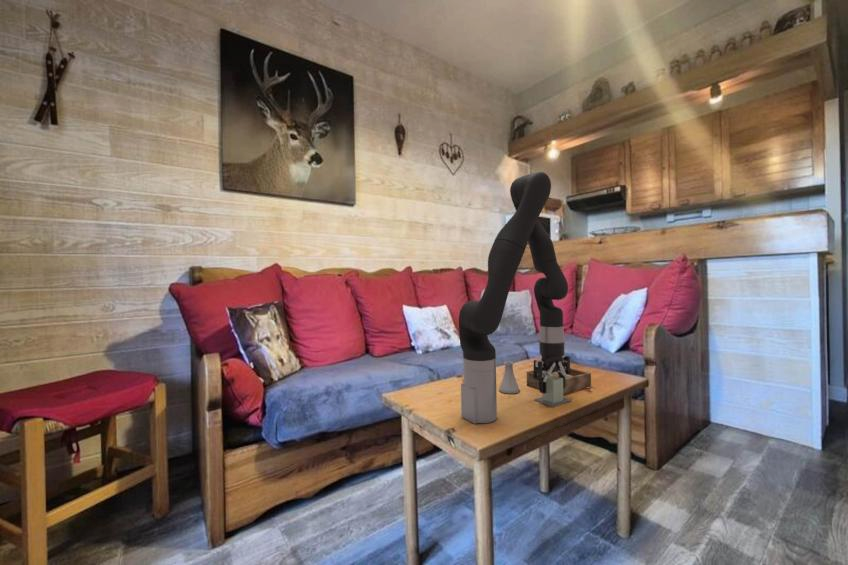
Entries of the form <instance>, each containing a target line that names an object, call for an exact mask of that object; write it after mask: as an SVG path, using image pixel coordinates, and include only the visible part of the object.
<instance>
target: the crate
mask: <svg viewBox="0 0 848 565" xmlns="http://www.w3.org/2000/svg"><path fill="white" fill-rule="evenodd" d="M565 370H567V368H566V367H565ZM544 371H545V370H544ZM545 372H546V371H545ZM533 373H534V369H533V370H530V371H529V370H528V371H526V386H528V387H530V388H533V389H536V390H539V381H538V380H536V379H534V378H533ZM550 375H553V376H556V377H558V376H559V375H558V374H557V372H553V373H551V374H550ZM537 376H538V372H537ZM543 377H544V375H543ZM565 384H566V385H565V389H563V396H564V395H567V394H572V393H575V392H574V391H576V392H578V391H577V390H579V391H582V390H581V389H583V390H585V389H584V388H587V387H590V386H591V387H592V373H591V372H587V371H583V370H579V369H574V368H571V367H570V374H567V376H566V377H565ZM587 389H588V388H587ZM571 392H572V393H571Z"/></svg>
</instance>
